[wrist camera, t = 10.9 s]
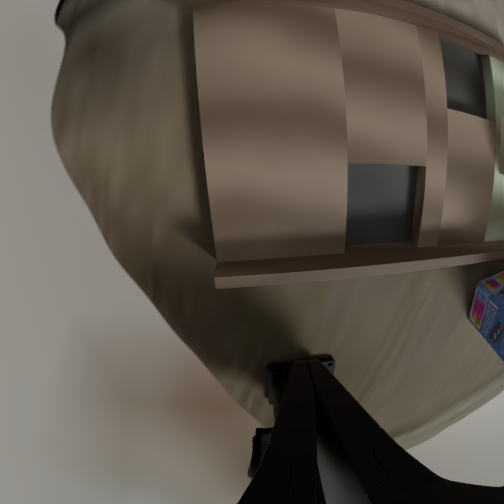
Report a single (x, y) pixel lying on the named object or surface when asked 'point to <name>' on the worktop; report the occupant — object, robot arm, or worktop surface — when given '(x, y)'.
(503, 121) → the maple block
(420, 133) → the trap box
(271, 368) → the robot arm
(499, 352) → the ink cartridge box
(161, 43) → the worktop surface
